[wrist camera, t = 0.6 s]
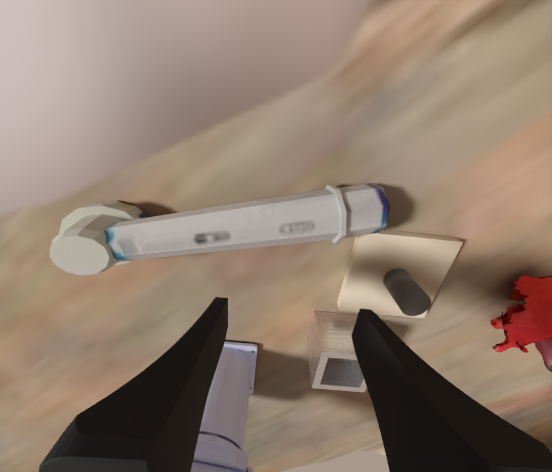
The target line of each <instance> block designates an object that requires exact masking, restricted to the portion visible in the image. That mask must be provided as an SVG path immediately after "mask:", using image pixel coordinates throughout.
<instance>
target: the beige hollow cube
mask: <svg viewBox="0 0 552 472" xmlns="http://www.w3.org/2000/svg"><path fill="white" fill-rule="evenodd" d="M357 316H358V315H354V314H343V313H332V312H320V311H314V315H313V319H312V323H311V327H310V332H309V336H308V340H307V344H306V346H307V354H308V362H309V370H310V378H311V386H312V388H316V389H328V390H341V391H353V392H365V391H366V389H367V386H366V383H365V380H364V377H363V374H362V372H361V369H360V366H359V363H358V360H357V357H356V354H355V350H354V346H353V341H352V336H351V335H352V332H353V329H354V326H355V323H356V319H357Z"/></svg>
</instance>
